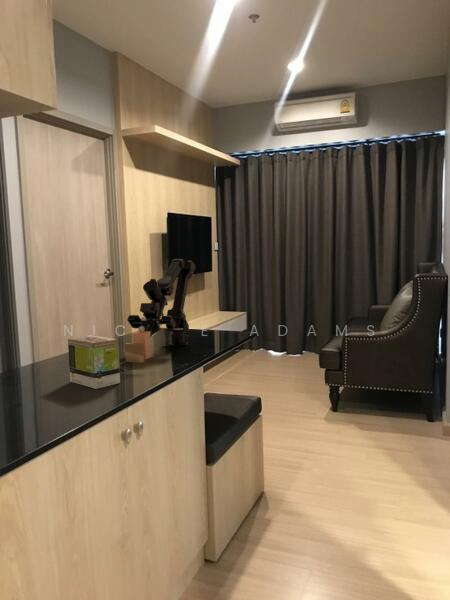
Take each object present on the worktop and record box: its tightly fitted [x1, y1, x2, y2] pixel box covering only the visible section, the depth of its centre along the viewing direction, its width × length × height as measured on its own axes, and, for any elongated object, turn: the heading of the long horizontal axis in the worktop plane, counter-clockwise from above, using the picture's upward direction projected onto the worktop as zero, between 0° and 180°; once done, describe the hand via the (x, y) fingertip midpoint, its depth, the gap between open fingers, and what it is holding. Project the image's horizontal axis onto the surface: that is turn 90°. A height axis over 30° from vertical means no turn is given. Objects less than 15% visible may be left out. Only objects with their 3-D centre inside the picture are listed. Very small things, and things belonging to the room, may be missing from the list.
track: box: [124, 342, 146, 364], centre depth 198 cm, size 17×7×8 cm, turn 161°
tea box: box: [67, 334, 121, 390], centre depth 168 cm, size 15×10×15 cm
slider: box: [132, 326, 152, 360], centre depth 196 cm, size 4×5×12 cm
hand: (145, 339), depth 198 cm, fingers closed, pressing on slider
